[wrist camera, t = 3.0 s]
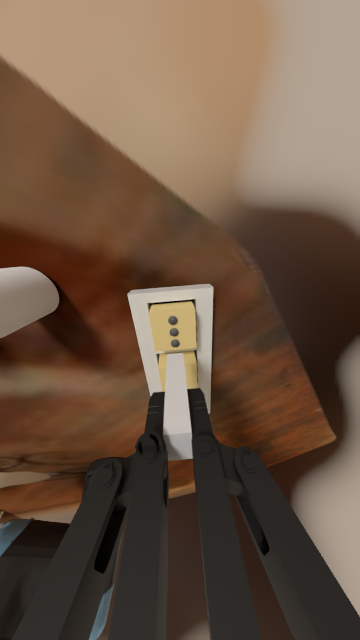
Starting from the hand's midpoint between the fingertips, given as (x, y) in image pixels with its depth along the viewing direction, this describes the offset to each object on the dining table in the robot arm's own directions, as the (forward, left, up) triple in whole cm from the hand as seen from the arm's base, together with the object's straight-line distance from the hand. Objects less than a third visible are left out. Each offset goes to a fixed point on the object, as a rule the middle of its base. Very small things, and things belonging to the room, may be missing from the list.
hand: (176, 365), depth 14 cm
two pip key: (-9, 0, -10) cm, 14 cm away
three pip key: (0, 0, -10) cm, 10 cm away
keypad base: (-9, 0, -12) cm, 15 cm away
